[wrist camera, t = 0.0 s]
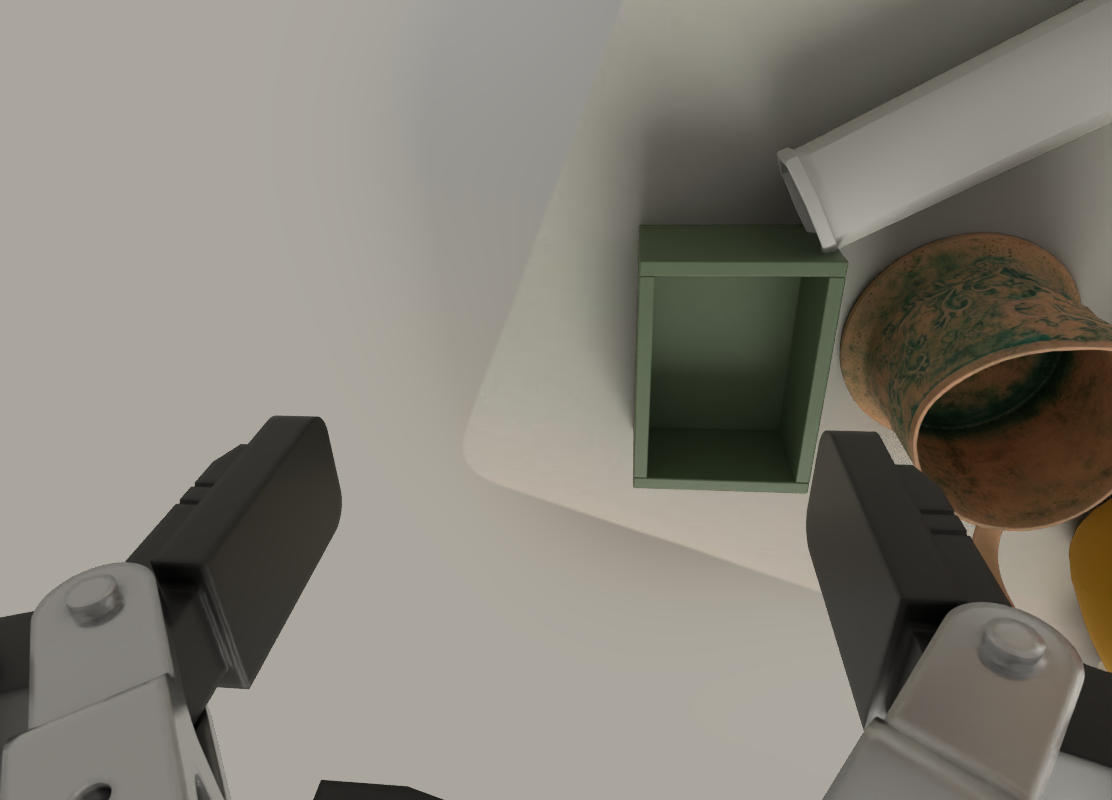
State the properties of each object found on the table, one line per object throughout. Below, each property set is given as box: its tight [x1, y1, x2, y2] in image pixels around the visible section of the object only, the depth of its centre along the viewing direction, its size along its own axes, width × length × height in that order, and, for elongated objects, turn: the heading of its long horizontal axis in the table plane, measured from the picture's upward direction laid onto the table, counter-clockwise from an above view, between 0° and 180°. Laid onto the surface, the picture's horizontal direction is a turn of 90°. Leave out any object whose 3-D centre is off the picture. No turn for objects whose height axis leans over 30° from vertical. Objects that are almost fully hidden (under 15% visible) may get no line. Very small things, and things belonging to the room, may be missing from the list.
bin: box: [633, 225, 848, 494], centre depth 37 cm, size 12×9×6 cm
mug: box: [840, 233, 1112, 608], centre depth 34 cm, size 12×18×12 cm, turn 178°
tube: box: [777, 0, 1112, 254], centre depth 29 cm, size 5×5×25 cm
